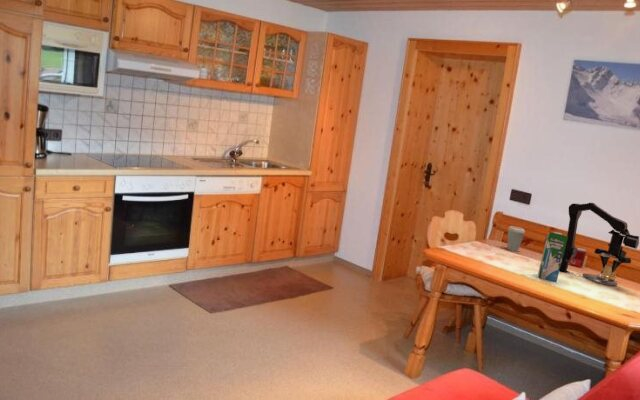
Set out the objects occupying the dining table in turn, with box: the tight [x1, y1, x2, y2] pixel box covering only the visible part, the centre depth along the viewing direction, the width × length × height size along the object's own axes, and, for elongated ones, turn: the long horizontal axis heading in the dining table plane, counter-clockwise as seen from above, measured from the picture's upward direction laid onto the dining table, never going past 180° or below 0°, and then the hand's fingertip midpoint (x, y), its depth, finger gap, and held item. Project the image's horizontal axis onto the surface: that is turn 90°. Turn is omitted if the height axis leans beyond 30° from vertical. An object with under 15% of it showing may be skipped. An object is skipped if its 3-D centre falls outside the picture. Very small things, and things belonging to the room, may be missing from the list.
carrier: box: [582, 273, 618, 287], centre depth 322 cm, size 20×18×6 cm
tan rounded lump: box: [600, 264, 617, 277], centre depth 314 cm, size 7×7×5 cm
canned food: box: [568, 247, 587, 268], centre depth 354 cm, size 8×8×11 cm
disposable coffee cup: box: [506, 225, 526, 252], centre depth 367 cm, size 11×11×15 cm
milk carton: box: [537, 231, 568, 283], centre depth 301 cm, size 9×9×25 cm
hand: (608, 270), depth 314 cm, fingers closed on tan rounded lump, 5 cm apart
